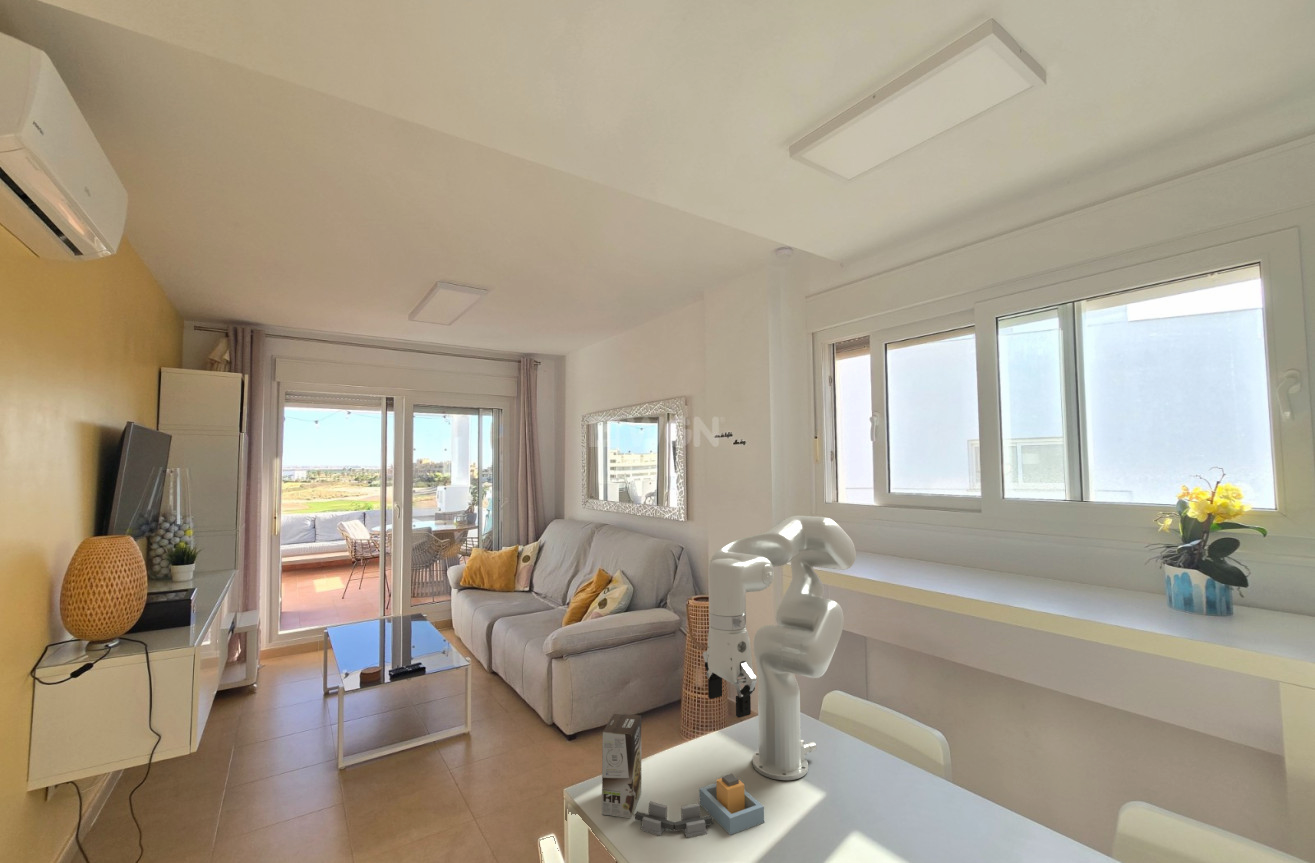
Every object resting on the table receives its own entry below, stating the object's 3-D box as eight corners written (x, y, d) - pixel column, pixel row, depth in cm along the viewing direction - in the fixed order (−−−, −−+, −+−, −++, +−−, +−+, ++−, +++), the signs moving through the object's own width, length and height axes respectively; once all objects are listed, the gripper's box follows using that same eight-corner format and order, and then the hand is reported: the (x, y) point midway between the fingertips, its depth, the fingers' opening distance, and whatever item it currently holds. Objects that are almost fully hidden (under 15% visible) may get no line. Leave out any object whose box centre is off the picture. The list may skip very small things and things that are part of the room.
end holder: (731, 792, 118) (731, 778, 118) (764, 822, 108) (764, 806, 108) (699, 803, 114) (699, 788, 114) (730, 835, 104) (730, 818, 105)
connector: (733, 804, 114) (732, 770, 114) (744, 815, 110) (744, 780, 111) (716, 810, 112) (716, 775, 112) (727, 821, 108) (727, 785, 109)
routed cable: (712, 820, 108) (712, 815, 108) (712, 833, 104) (712, 827, 104) (635, 816, 109) (635, 811, 109) (632, 828, 105) (632, 823, 105)
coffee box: (632, 819, 109) (632, 734, 110) (600, 815, 110) (601, 731, 111) (642, 792, 118) (642, 714, 119) (613, 789, 119) (613, 712, 120)
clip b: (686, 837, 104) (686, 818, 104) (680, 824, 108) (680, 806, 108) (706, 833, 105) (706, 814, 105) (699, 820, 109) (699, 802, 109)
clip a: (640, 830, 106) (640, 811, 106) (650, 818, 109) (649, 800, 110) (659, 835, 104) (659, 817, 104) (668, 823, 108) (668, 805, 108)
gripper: (769, 629, 108) (771, 719, 107) (718, 608, 123) (719, 687, 122) (737, 635, 104) (739, 728, 103) (689, 613, 120) (690, 694, 119)
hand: (728, 706), depth 113 cm, fingers open, 9 cm apart
